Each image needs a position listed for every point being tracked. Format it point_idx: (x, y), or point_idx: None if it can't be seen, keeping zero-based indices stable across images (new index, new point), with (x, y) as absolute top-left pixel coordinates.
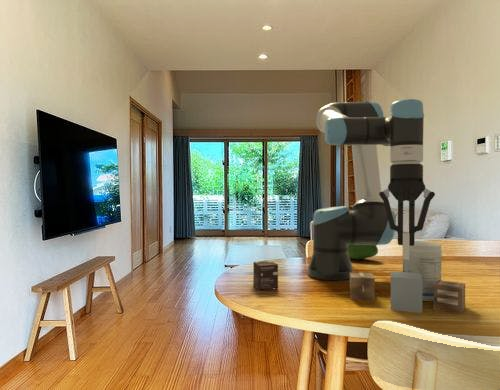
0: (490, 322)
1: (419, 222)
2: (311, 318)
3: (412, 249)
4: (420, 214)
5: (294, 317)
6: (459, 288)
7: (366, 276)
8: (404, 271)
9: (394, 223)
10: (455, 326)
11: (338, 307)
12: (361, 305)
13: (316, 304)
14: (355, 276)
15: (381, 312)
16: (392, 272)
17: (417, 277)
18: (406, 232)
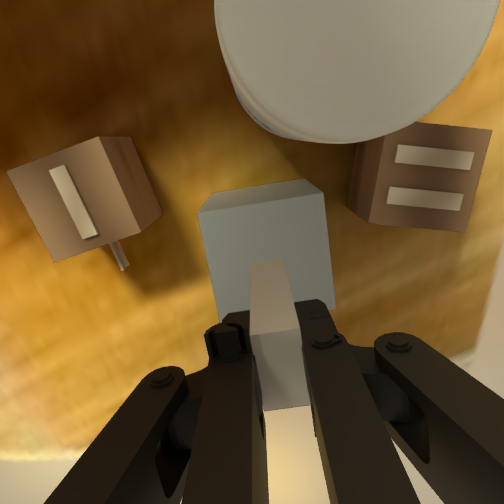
0: (487, 255)
1: (420, 464)
2: (78, 436)
3: (292, 131)
4: (477, 495)
5: (42, 448)
6: (456, 230)
7: (101, 215)
8: (240, 99)
9: (175, 411)
10: (395, 330)
11: (95, 333)
12: (144, 283)
13: (30, 338)
14: (63, 239)
15: (212, 316)
16: (208, 238)
17: (316, 281)
18: (284, 368)
